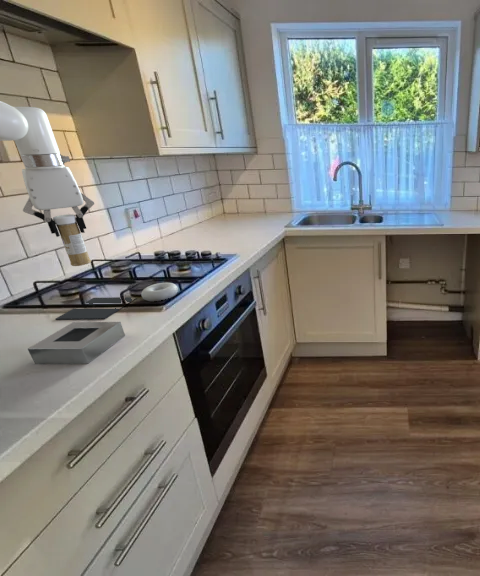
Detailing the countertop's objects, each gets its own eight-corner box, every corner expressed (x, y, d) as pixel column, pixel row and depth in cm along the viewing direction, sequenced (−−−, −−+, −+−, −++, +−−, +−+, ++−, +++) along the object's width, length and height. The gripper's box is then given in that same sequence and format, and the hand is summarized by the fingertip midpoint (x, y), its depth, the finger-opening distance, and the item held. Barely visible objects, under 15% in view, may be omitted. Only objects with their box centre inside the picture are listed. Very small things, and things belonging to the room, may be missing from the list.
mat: (55, 319, 100) (55, 318, 100) (94, 298, 113) (93, 297, 113) (104, 319, 100) (104, 318, 100) (137, 298, 113) (137, 297, 113)
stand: (34, 364, 80) (27, 348, 79) (78, 335, 92) (72, 322, 90) (87, 363, 80) (81, 348, 79) (125, 335, 91) (120, 321, 90)
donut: (138, 298, 113) (149, 306, 107) (135, 287, 112) (145, 295, 106) (172, 288, 120) (184, 295, 114) (170, 278, 119) (181, 285, 112)
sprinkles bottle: (68, 265, 100) (49, 216, 94) (87, 260, 103) (70, 213, 98) (75, 267, 97) (56, 218, 92) (94, 262, 101) (77, 214, 96)
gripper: (84, 159, 98) (106, 226, 105) (-4, 164, 87) (27, 237, 94) (87, 160, 92) (110, 230, 100) (-5, 165, 82) (28, 243, 89)
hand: (70, 233), depth 97 cm, fingers closed on sprinkles bottle, 4 cm apart
